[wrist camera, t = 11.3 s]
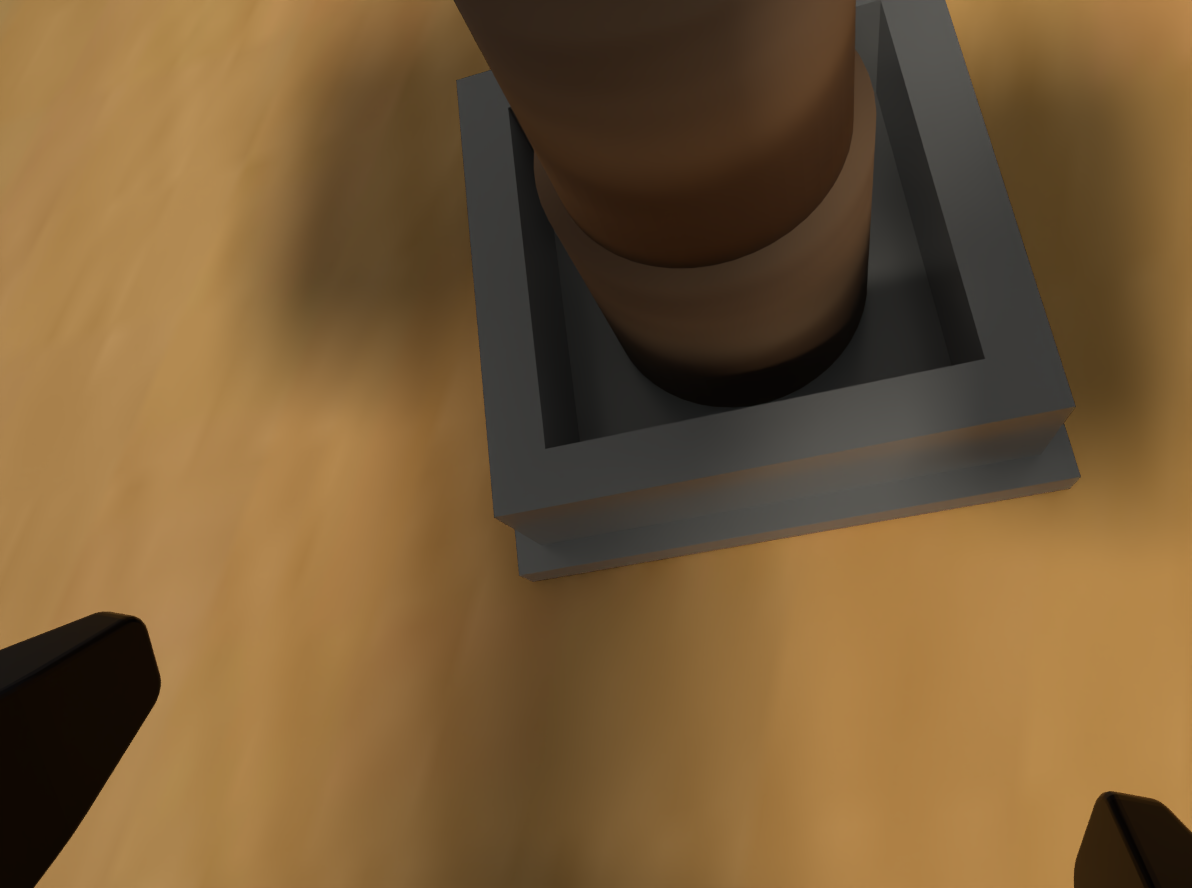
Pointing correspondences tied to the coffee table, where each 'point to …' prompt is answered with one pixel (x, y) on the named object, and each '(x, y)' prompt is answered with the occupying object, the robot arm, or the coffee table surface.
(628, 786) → the coffee table surface
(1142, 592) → the coffee table surface
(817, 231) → the pepper mill
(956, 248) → the slate open box
